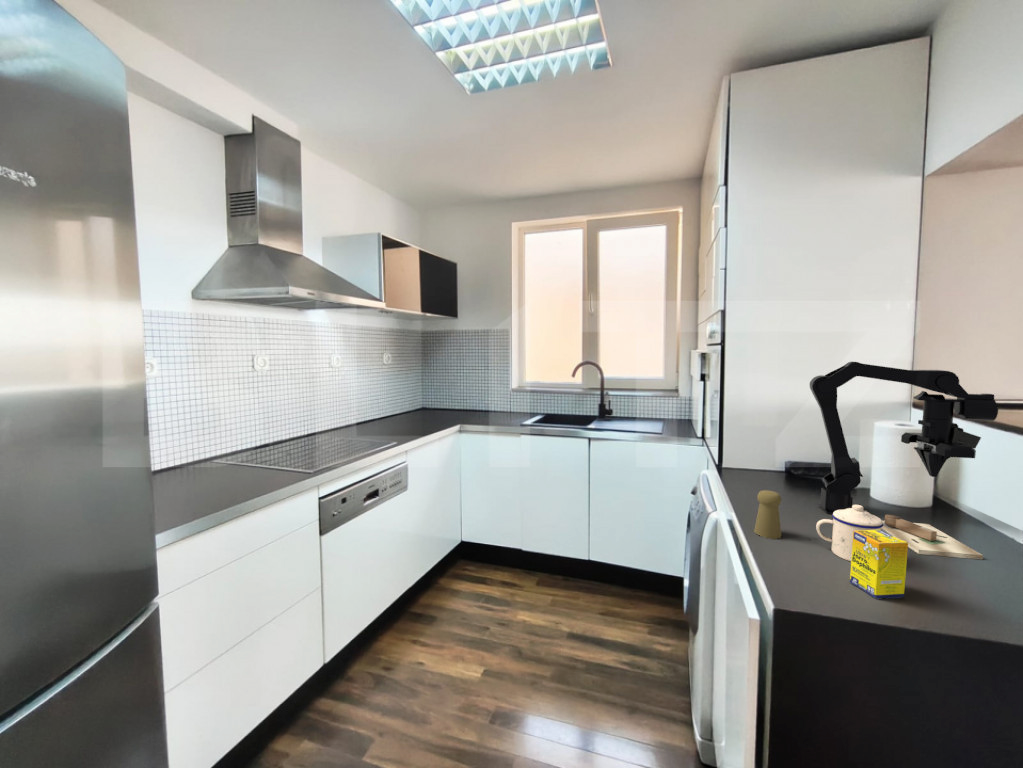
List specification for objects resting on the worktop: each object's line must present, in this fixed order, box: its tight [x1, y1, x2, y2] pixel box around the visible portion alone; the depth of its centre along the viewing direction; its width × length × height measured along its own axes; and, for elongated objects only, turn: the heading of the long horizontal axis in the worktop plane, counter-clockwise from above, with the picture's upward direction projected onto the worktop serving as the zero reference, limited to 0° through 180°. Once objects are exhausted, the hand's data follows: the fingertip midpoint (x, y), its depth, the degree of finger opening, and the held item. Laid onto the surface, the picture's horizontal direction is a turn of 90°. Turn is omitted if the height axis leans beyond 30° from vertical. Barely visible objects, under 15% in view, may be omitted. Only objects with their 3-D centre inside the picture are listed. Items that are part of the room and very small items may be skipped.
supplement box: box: [849, 530, 909, 600], centre depth 86 cm, size 6×6×11 cm
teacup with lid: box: [815, 504, 883, 562], centre depth 101 cm, size 12×9×12 cm
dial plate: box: [882, 520, 984, 560], centre depth 108 cm, size 12×18×1 cm, turn 166°
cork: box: [753, 489, 782, 540], centre depth 112 cm, size 6×6×11 cm
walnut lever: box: [884, 514, 937, 541], centre depth 110 cm, size 11×3×2 cm, turn 10°
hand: (933, 476), depth 117 cm, fingers closed
